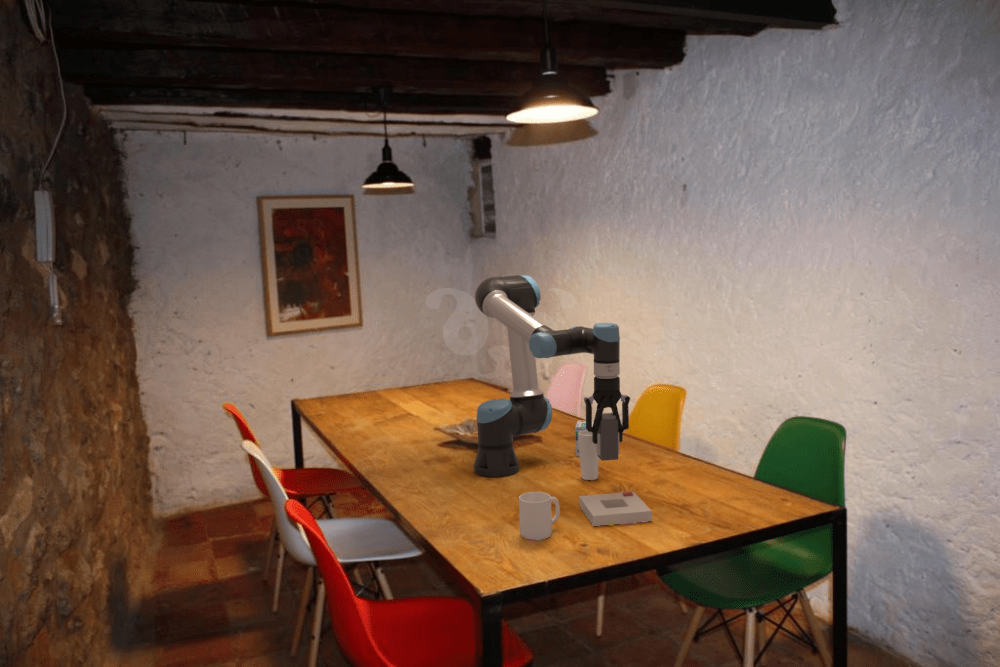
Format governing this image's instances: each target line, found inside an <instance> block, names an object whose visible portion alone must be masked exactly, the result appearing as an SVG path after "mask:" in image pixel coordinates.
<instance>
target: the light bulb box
mask: <svg viewBox="0 0 1000 667" xmlns="http://www.w3.org/2000/svg"><path fill="white" fill-rule="evenodd" d="M593 423H594V420H592V427H593ZM574 430H575V455H576V456H575V457H580V456H579V447H578V432H580V431H584V430H587V429H586V420H580V419H578V420H577V422H576V425H575V427H574Z"/></svg>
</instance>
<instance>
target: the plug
mask: <svg viewBox="0 0 1000 667" xmlns="http://www.w3.org/2000/svg"><path fill="white" fill-rule="evenodd" d="M598 432H599V433H600V453H601V455H597V456H598V457H599V460H600V461H615V460H616V461H617V460H619V454H618V419H616V416H615V415H614V414H613V413H612V412H603V413H602V417H601V420H600V425H599V429H598Z"/></svg>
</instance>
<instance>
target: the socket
mask: <svg viewBox="0 0 1000 667" xmlns="http://www.w3.org/2000/svg"><path fill="white" fill-rule="evenodd" d="M578 498H579V499H578V501H579V504H578V505H579V508H580V507H581V508H580V510H581V511H582V510H583V511H582V513H583V514H584V513H585V514H584V516H585V517H586V516H587V517H586V518H587V520H588V519H589V520H590V521H589V520H588V521H589V522H591V523H592V524H591V523H590V524H591V526H592V525H593V526H598V527H600V526H599V525H609V526H611V525H610V524H621V525H623V524H622V523H632V524H635V523H634V522H642V521H652V522H653V513H652V512H653V511H652V510H651V508H649V507H648V505H647V504H646V503H645V502H644V501H643V500H642V499H641V498H640V497H639V496H638V494H636V492H634V491H631V490H630V491H622V492H615V493H601V494H588V495H580V496H578ZM593 526H592V527H593Z"/></svg>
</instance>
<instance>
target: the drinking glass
mask: <svg viewBox="0 0 1000 667" xmlns="http://www.w3.org/2000/svg"><path fill="white" fill-rule="evenodd" d="M578 447H579V456H578V457H579V460H580V461H579V464H580V474H581V479H582V480H584V481H588V480H591V481H595V480H597V479H598V478H599V465H600V463H599V461H600V458H599V457H598V456H597V454H596V444H594V443H593V441H592V432H589V431H588V430H584V431H580V432H578Z"/></svg>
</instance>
